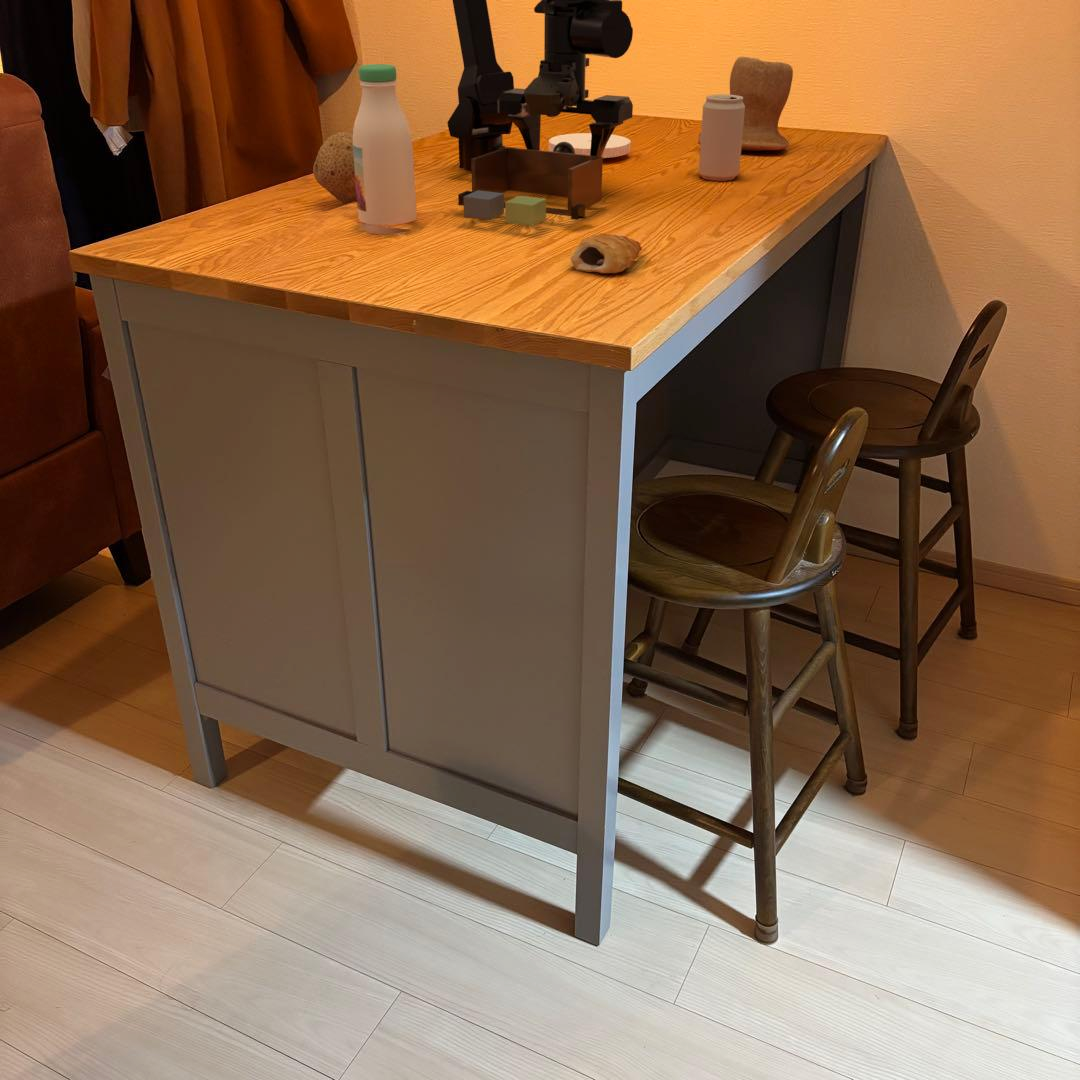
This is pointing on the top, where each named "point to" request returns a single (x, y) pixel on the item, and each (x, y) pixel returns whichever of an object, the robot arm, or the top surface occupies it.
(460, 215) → the top surface
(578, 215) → the pivot brackets
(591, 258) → the pastry
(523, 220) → the sage block
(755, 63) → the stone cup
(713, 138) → the beverage can
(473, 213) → the slate block
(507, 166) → the bin
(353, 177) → the natural sponge
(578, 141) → the plastic lid
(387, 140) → the milk bottle
